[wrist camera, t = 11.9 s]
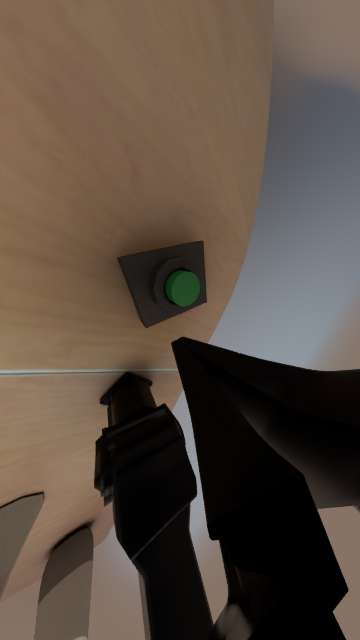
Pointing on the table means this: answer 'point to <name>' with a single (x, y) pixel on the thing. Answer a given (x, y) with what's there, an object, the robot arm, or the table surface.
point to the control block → (162, 279)
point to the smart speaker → (66, 590)
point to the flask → (15, 532)
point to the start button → (182, 287)
